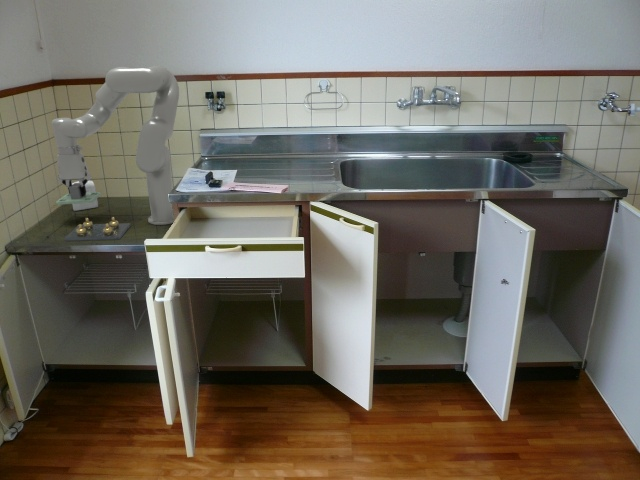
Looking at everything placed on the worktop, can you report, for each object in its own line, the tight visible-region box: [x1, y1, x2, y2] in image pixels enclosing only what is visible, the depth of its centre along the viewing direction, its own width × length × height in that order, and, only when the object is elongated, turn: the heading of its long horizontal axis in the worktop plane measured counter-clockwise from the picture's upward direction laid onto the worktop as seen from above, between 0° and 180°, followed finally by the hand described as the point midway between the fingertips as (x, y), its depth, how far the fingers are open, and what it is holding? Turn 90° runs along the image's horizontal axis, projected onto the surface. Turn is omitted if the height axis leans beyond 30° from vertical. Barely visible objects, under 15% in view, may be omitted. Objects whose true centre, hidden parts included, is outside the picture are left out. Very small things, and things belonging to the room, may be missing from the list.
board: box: [55, 182, 102, 206], centre depth 212 cm, size 14×11×6 cm
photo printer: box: [71, 180, 99, 212], centre depth 229 cm, size 10×4×12 cm, turn 123°
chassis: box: [64, 216, 131, 242], centre depth 203 cm, size 20×14×5 cm
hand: (78, 195), depth 213 cm, fingers closed on board, 3 cm apart
